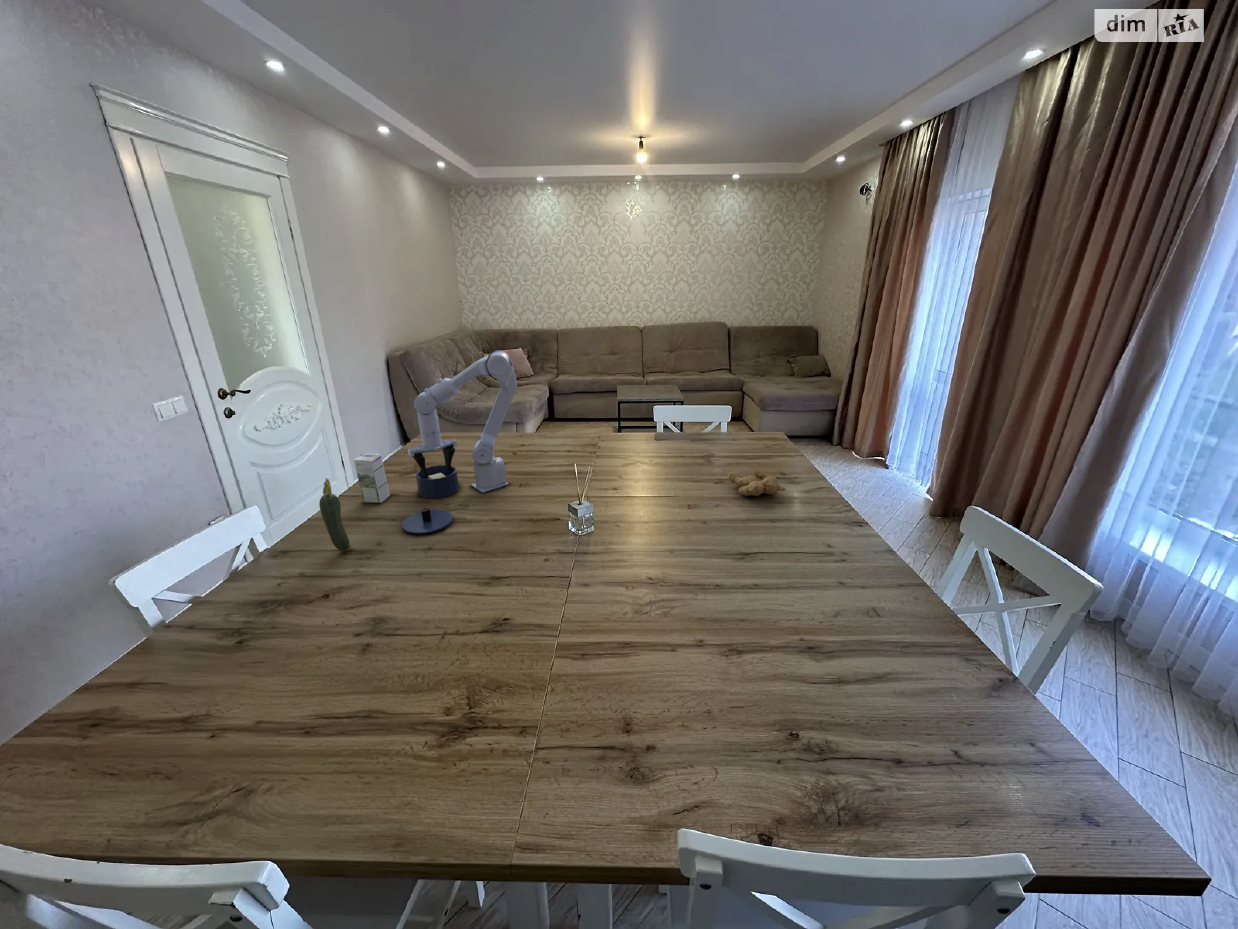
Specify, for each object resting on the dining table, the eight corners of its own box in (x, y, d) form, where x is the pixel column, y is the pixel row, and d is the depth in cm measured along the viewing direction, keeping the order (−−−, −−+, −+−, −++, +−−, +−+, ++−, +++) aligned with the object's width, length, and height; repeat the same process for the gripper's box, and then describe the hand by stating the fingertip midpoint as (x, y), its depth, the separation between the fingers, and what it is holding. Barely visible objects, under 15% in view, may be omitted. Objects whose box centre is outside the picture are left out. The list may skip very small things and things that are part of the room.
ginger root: (791, 500, 145) (787, 475, 142) (738, 511, 147) (734, 487, 144) (776, 480, 160) (773, 458, 157) (729, 491, 161) (724, 469, 159)
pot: (448, 479, 164) (446, 461, 162) (465, 490, 156) (463, 472, 154) (413, 490, 157) (409, 471, 154) (428, 502, 148) (425, 482, 146)
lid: (442, 508, 144) (440, 494, 142) (460, 525, 135) (458, 510, 133) (396, 522, 136) (393, 508, 134) (412, 541, 127) (409, 525, 125)
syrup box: (390, 495, 153) (382, 452, 147) (380, 504, 147) (370, 459, 142) (373, 495, 153) (364, 452, 148) (362, 503, 148) (352, 459, 142)
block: (442, 485, 159) (440, 472, 157) (448, 489, 156) (446, 476, 154) (430, 488, 156) (427, 476, 155) (435, 492, 153) (433, 479, 152)
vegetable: (343, 558, 119) (324, 484, 112) (328, 556, 120) (308, 483, 113) (355, 548, 123) (338, 477, 116) (340, 547, 124) (322, 475, 117)
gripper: (410, 439, 142) (418, 481, 147) (458, 429, 151) (463, 469, 156) (402, 434, 147) (410, 475, 152) (449, 424, 156) (454, 463, 161)
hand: (436, 471), depth 154 cm, fingers open, 7 cm apart
